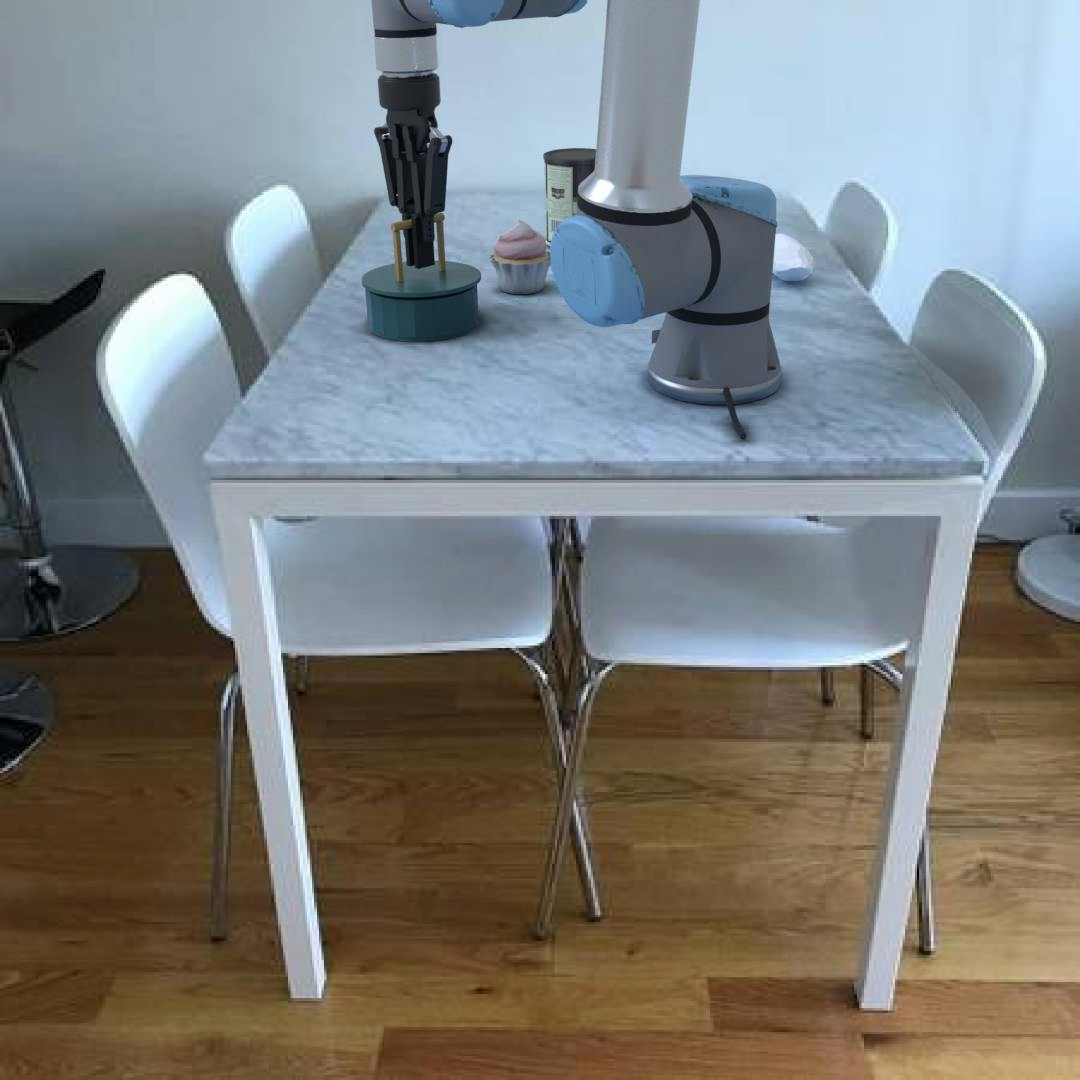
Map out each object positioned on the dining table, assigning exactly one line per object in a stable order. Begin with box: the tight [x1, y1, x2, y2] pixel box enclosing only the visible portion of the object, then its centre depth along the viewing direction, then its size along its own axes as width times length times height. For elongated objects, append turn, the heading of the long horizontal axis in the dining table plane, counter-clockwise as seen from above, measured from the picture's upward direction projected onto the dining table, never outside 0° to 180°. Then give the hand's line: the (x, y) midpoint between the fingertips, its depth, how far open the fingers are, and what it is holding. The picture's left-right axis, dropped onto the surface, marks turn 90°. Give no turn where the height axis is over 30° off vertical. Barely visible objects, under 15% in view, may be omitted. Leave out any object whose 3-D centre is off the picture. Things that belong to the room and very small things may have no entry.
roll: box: [772, 233, 815, 282], centre depth 178 cm, size 6×12×6 cm, turn 7°
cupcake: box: [488, 218, 551, 295], centre depth 176 cm, size 9×9×10 cm
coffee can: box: [542, 147, 596, 247], centre depth 197 cm, size 10×10×14 cm
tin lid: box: [361, 212, 482, 298], centre depth 159 cm, size 16×16×9 cm
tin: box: [364, 284, 480, 343], centre depth 163 cm, size 15×15×6 cm
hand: (420, 264), depth 160 cm, fingers closed on tin lid
